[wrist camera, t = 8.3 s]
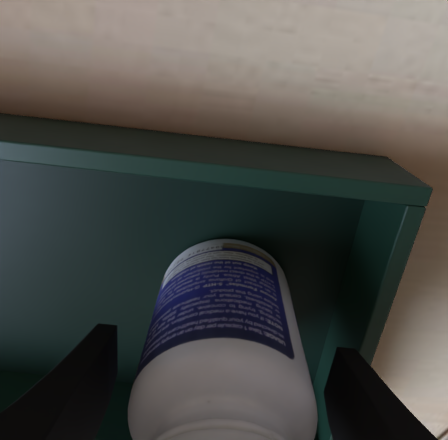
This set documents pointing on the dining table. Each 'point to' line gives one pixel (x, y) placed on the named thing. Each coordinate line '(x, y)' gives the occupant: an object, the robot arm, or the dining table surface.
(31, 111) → the dining table surface
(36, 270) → the long green tray
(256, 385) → the pill bottle
